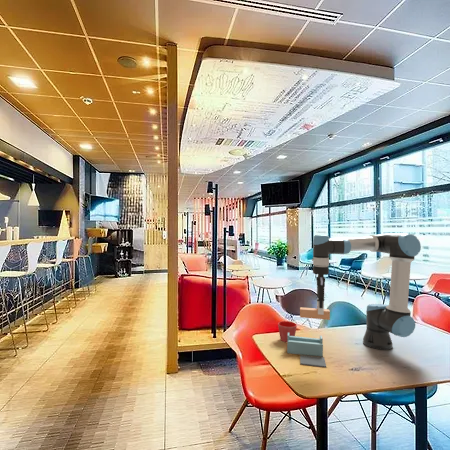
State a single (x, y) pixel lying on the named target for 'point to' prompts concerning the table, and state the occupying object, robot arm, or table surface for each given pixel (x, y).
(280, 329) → the flower pot
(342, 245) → the robot arm
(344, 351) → the table surface
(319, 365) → the mat
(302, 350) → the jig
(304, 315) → the bar
